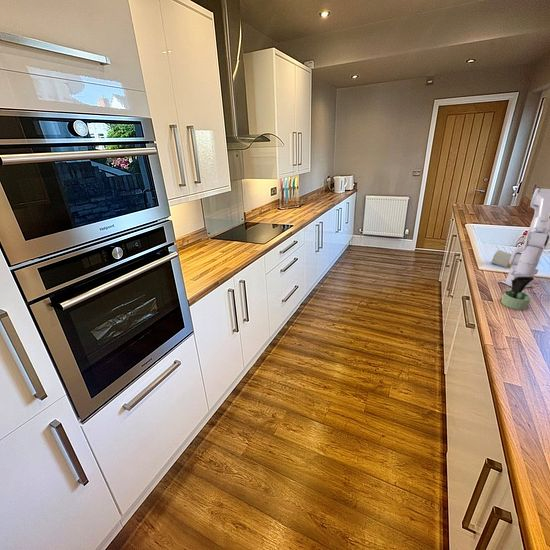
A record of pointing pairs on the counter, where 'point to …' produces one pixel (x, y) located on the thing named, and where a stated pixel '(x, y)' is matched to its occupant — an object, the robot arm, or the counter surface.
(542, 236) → the robot arm
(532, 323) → the counter surface
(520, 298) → the bowl
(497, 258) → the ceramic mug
